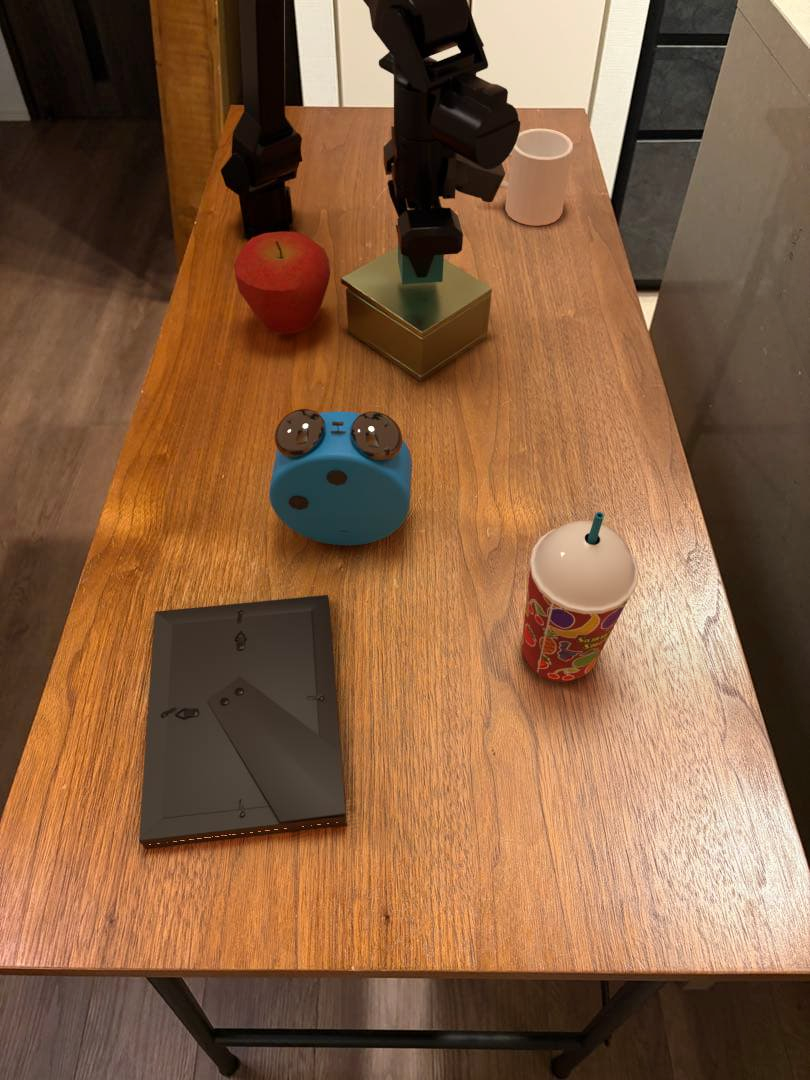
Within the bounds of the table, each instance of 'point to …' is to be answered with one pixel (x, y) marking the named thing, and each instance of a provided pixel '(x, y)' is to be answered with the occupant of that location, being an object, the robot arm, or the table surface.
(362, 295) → the lid
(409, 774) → the table surface
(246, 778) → the picture frame
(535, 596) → the smoothie
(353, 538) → the alarm clock
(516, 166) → the mug
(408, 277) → the block
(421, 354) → the brass box
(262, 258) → the apple
